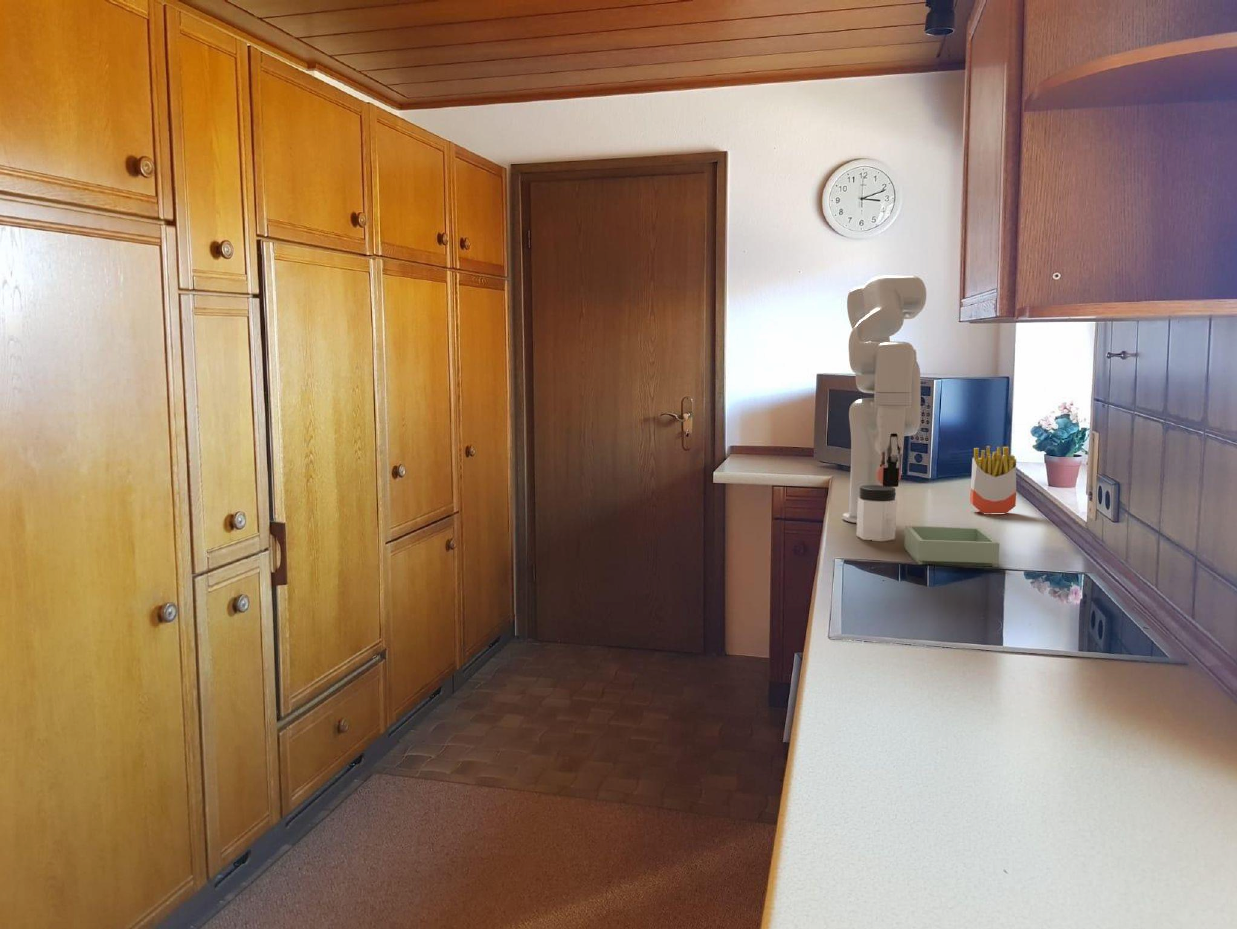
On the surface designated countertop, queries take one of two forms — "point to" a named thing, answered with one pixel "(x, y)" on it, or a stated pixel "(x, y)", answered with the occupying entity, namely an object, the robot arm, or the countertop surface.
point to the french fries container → (993, 481)
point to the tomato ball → (880, 474)
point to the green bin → (951, 546)
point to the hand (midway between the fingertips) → (888, 483)
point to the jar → (876, 513)
